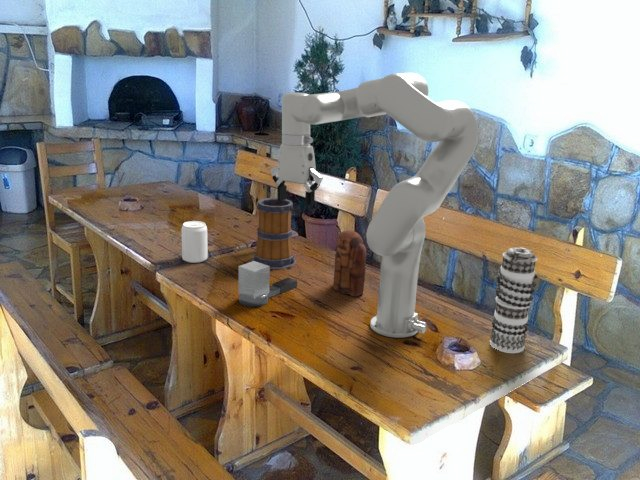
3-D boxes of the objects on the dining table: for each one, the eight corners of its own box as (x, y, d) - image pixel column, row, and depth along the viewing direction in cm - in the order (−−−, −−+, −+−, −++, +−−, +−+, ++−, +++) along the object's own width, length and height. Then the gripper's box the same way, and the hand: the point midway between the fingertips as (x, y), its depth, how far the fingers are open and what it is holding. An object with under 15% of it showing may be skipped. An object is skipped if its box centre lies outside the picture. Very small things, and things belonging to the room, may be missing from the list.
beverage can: (179, 256, 213) (178, 221, 209) (203, 254, 216) (203, 219, 212) (185, 265, 206) (184, 228, 202) (210, 262, 209) (210, 226, 205)
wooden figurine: (325, 286, 194) (328, 228, 188) (341, 281, 198) (344, 225, 192) (353, 299, 186) (357, 239, 180) (369, 293, 190) (373, 235, 184)
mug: (241, 252, 220) (241, 194, 214) (280, 247, 226) (282, 191, 220) (260, 271, 203) (261, 209, 197) (303, 266, 209) (305, 206, 203)
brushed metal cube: (269, 293, 181) (269, 266, 178) (254, 299, 176) (254, 271, 174) (253, 287, 184) (254, 260, 182) (238, 293, 180) (238, 266, 177)
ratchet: (303, 288, 192) (304, 269, 190) (253, 309, 176) (254, 288, 174) (283, 281, 196) (283, 262, 194) (233, 301, 180) (233, 281, 179)
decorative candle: (497, 333, 168) (510, 241, 160) (531, 345, 163) (546, 250, 155) (481, 345, 161) (493, 250, 154) (516, 357, 156) (531, 259, 148)
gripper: (330, 142, 171) (329, 205, 176) (280, 135, 181) (280, 195, 186) (313, 145, 165) (312, 210, 170) (262, 138, 175) (262, 200, 180)
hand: (295, 202), depth 178 cm, fingers open, 9 cm apart
